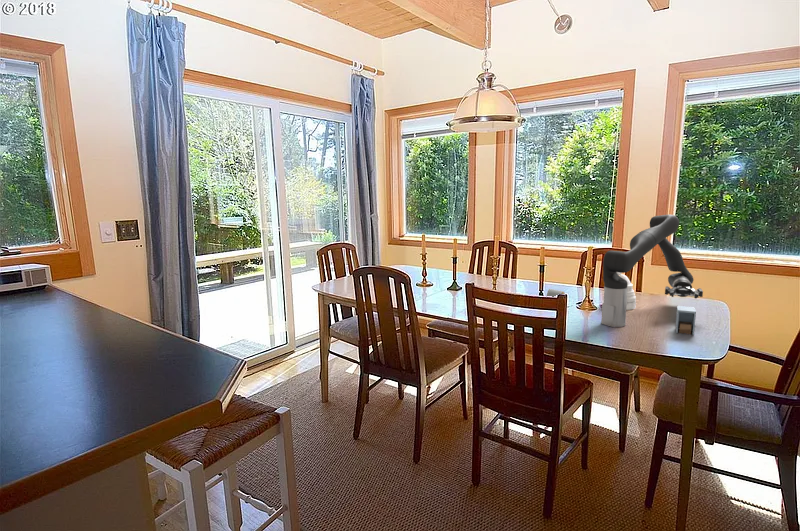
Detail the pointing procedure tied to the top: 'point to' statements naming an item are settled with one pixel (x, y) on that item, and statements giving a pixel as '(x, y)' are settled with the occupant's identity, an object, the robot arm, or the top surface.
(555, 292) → the ceramic mug
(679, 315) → the tall pale blue box
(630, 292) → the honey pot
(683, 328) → the cube
